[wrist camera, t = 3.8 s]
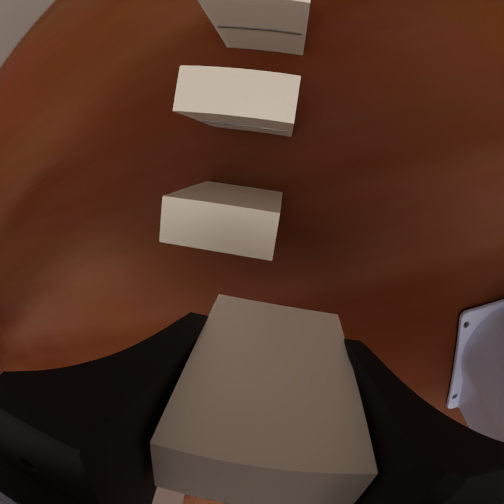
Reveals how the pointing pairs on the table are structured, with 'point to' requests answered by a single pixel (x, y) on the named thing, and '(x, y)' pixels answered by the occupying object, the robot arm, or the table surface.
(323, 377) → the lead tile
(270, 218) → the tile
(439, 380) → the table surface
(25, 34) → the table surface
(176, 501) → the shot glass
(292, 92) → the tile
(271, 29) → the tile
